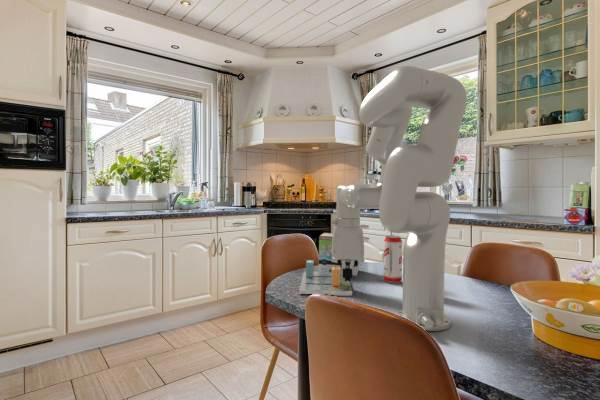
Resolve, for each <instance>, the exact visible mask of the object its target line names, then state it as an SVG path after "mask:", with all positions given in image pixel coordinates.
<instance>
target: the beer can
mask: <svg viewBox="0 0 600 400" xmlns="http://www.w3.org/2000/svg"><path fill="white" fill-rule="evenodd" d="M382 277H383V281H384V282H385V283H387V284H394V285H395V284H400V283H401V282H403V241H402V237H401V236H400V235H393V234H392V235H389V234H388V235H385V239H384V241H383V276H382Z"/></svg>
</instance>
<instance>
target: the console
mask: <svg viewBox="0 0 600 400" xmlns="http://www.w3.org/2000/svg"><path fill="white" fill-rule="evenodd" d="M352 289H353V288H352V284H351V281H348V280H347V281H345V278H343V272H340V286H332V272H319V271H314V275H313V277H306V270H304V271H303V274H302V278H301V283H300V286H299V290H298V293H299V294H313V293H322V294H328V295H327V296H330V295H334V297H338V296H339V297H353V290H352Z"/></svg>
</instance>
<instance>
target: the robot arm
mask: <svg viewBox="0 0 600 400" xmlns="http://www.w3.org/2000/svg"><path fill="white" fill-rule="evenodd" d="M467 102H468V96H467V92H466V88H465V87H464V84H462V82H461V81H459V80H458V79H457V78H455V77H453V76H451V75H448V74H445V73H442V72H439V71H434V70H429V69H426V68H425V69H424V68H421V67H416V66H412V65H403V66H400V67H399V66H398V67H397V68H395V69H394V70H392V71H391V72H390V73H389V74H387V76H386V77H384V78H383V79H382V80H381V81H380V82H379V83H378V84H376V86H375V87H373V89H371V90H370V91H369V92H368V94H367V95H366V96H365V97H364V99H363V100H362V102H361V104H360V107H359V111H358V112H359V113H358V115H359V120H360V122H361V123H362V124H363V125H364V126H367V127H371V128H372V127H373V128H372V130H371V133H370V136H369V138H368V141H367V144H366V145H365V152H366V154H367V155H368V156H369V157H370V158H372V159H373V160H374V161H376V162H379V164H380V168H381V171H380V175H379V177H378V178H379V179H378V180H377V183H375V184H374V183H365V184H363V183H362V184H361V183H358V184H356V183H355V184H342V185H341V184H340V185H338V186H337V188H336V216H335V219H331V224H332V225H335V227H334V228H333V232H332V233H333V238H332V257H331V261H332V262H335V263H338V264H339V265H340V266H341V267H342V268H343V278H345V281H347V280H348V281H349V282H351V279H353V276H352V269H353V267H354V266H356V265H357V264H358V263H359V264H363V263H365V258H364V257H365V237H364V230H363V227H361V210H371V209H374V210H377V209H378V212H379V213H378V215H379V220H380V223H381V225H382V227H384V229H385V230H387V231H388V232H390V233H394V234H407V233H408V234H407V236H406V238H405V240H404V243H403V244H404V245H403V249H402V302H401V303H402V304H401V305H402V306H401V307H402V309H399V310H398V311H396V313H395V315H396V314H398V315H400V316H403V317H405V318H407V319H409V320H411V321H413V322H415V323H417V324H419V325H420V326H422V327H423V328H424V329H425V330H427V331H426V332H439V331H440V332H441V331H445V330H447V329H449V328H450V327H451V323H452V322H451V318H449V316H448V315H445V313H444V309H445V308H444V305H445V268H446V267H445V266H446V265H445V263H446V262H445V261H446V242H447V233H448V229H449V224H450V220H451V209H450V204H449V203H448V201H447V200H446V199H445V198H444V196H443V195H441V194H438V193H437V192H432V191H417V190H418V188H419V187H420V188H433V187H436V188H437V187H440V186H443V185H445V184H446V183H447V182H448V181H449V180H450V177H451V175H452V171H453V166H454V162H455V156H456V151H457V147H458V142H459V134H460V129H461V126H462V122H463V119H464V115H465V111H466V108H467V104H468V103H467ZM413 108H421V109H427V110H429V111H428V113H427V114H426V116H425V117H424V120H423V121H422V122H421V124H420V127H419V133H418V138H417V144H413V143H412V144H411V143H408V144H401V143H402V141H403V139H404V136H405V133H406V131H407V128H408V126H409V123H410V122H411V119H412V116H413ZM345 260H350V263H349V266H348V268H347V266H346V264H345Z"/></svg>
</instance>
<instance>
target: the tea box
mask: <svg viewBox="0 0 600 400" xmlns="http://www.w3.org/2000/svg"><path fill="white" fill-rule="evenodd" d="M332 238H333V232H323V233H322V234H320V235H319V237H318V272H332V267H339V268H340V272H343V268H342V267H341V266H340V265H339V264H338V263H335V262H332V261H331V257H332ZM349 263H350V260H345V264H346V266H347V268H348V266H349ZM359 270H360V263H358V264H357V265H356V266H354V267H353V269H352V277H353V276H354V277H357V276H358V272H359Z"/></svg>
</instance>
